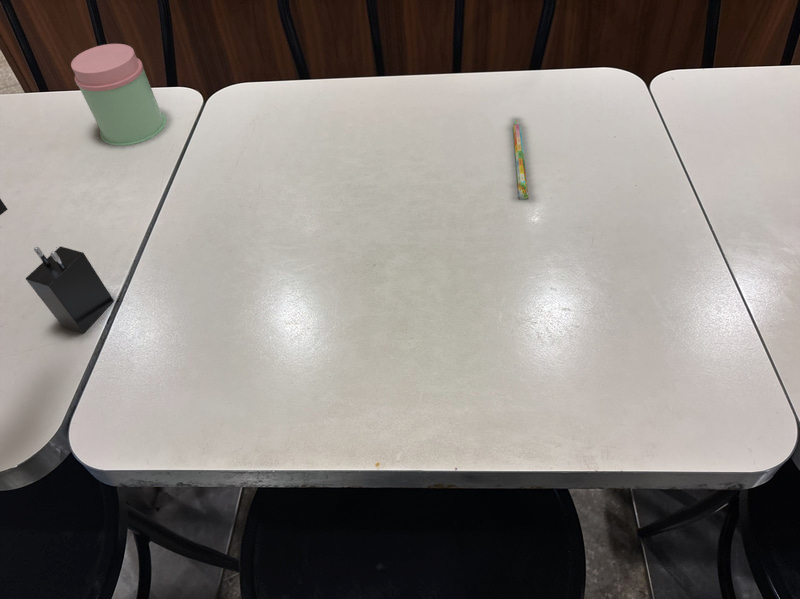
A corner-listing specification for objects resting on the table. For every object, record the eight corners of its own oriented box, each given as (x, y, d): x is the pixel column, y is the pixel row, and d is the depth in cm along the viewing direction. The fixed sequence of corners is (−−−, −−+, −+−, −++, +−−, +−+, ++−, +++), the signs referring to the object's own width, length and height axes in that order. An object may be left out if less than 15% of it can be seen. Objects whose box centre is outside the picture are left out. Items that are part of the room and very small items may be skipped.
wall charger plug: (63, 328, 65) (12, 263, 58) (94, 296, 68) (49, 230, 61) (85, 335, 64) (37, 270, 57) (116, 303, 67) (74, 236, 60)
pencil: (511, 122, 87) (518, 200, 75) (511, 115, 86) (518, 193, 74) (520, 122, 86) (528, 200, 74) (520, 115, 86) (529, 193, 74)
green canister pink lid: (89, 145, 89) (51, 73, 81) (122, 110, 96) (90, 40, 87) (148, 150, 88) (116, 77, 79) (178, 113, 94) (151, 42, 85)
